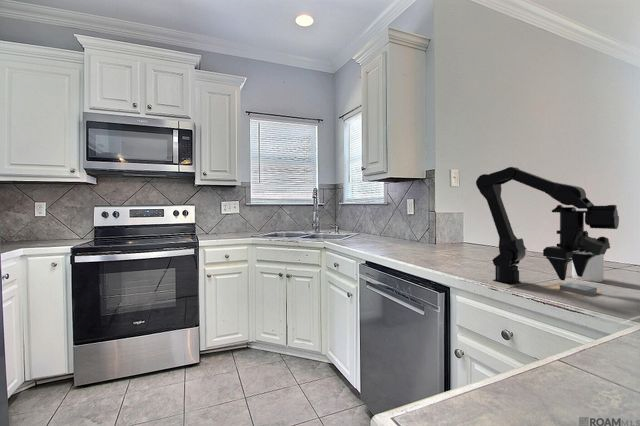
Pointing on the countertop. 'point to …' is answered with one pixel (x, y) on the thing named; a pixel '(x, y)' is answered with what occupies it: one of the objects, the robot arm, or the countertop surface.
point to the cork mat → (557, 288)
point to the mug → (592, 270)
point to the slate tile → (578, 289)
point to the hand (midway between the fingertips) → (571, 278)
